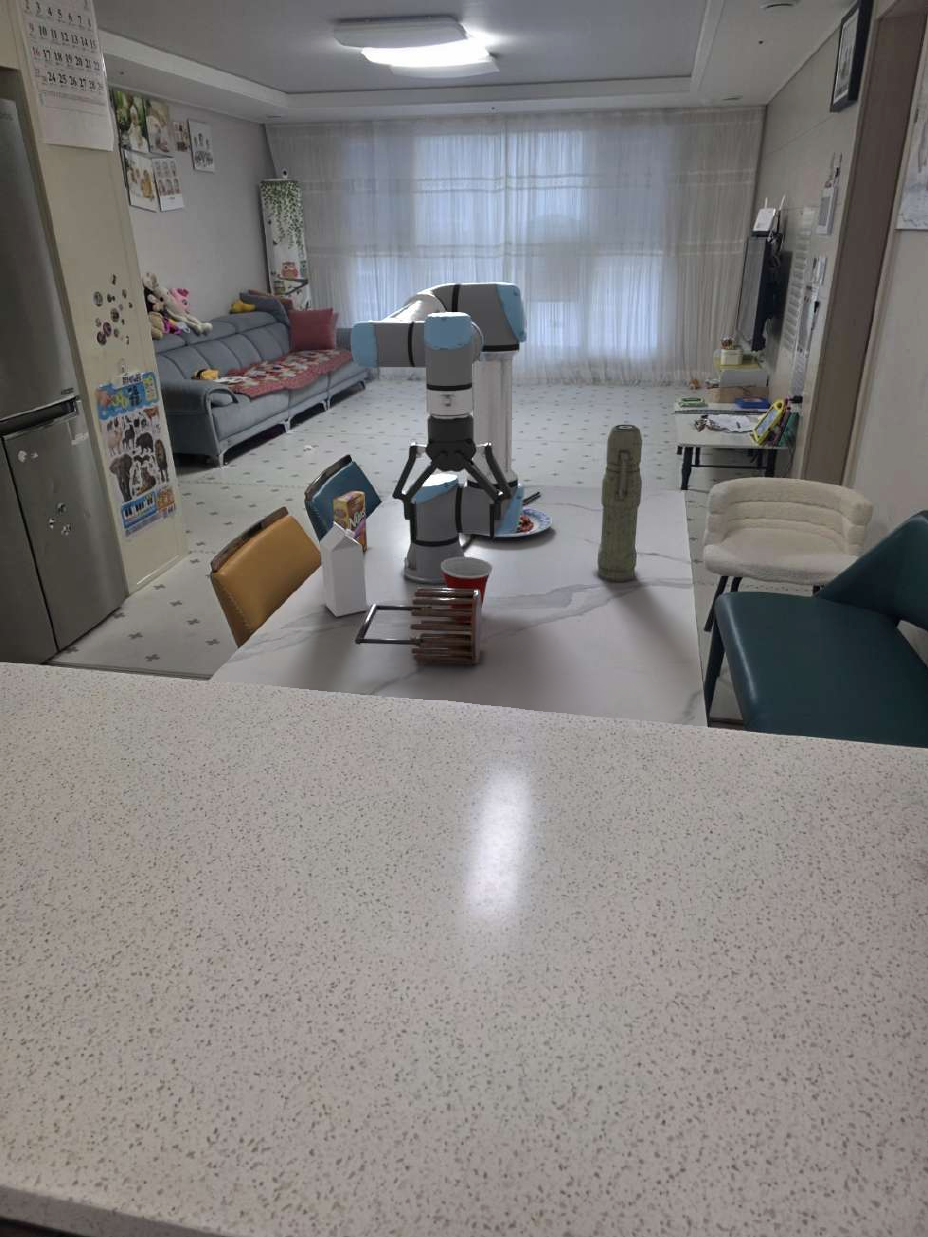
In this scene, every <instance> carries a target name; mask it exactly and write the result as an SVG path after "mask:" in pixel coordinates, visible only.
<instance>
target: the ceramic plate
mask: <svg viewBox="0 0 928 1237" xmlns="http://www.w3.org/2000/svg"><path fill="white" fill-rule="evenodd" d="M552 524H553V518H552V517H551V516H550V515H549V514H547V513H546V512H544V511H542V510H539V509H534V508H530V507H523V506H522V510H521V516H520V521H519V525H518V528H517V530H516V532H515V533H513V534H510V535H495V538H518V537H524V536H531V535H535V534H538V533H541V532H544V531H546V530H547V529H549V528H550V527H552ZM478 535H479V536H486V537H490V534H478Z"/></svg>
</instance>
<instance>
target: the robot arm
mask: <svg viewBox="0 0 928 1237" xmlns="http://www.w3.org/2000/svg"><path fill="white" fill-rule="evenodd" d="M525 305H526V304H525V300H524V295H523V291H522V289H521V287H520V286H519V285H517V284H516V283H511V282H510V283H509V282H500V281H497V282H468V283H467V282H465V283H456V282H455V283H453V282H452V283H444V284H439V285H436V286H433V287H430V288H427V289H424V290H422V291H419V292H417V293H415V294H413V295H411V297H409V298H408V299H407V300H406V301H405V302H404V304H403V306H402V308H401V309H399V310H397V311H395V312H394V313H392V314H390V315H389V316H387V317H386V318H384V319H381V320H377V321H376V320H375V321H374V320H368V321H357V322H355V323H354V325H353V326H352V329H351V333H350V352H351V355H352V359H353V361H354V363H355V364H356V365H357V366H359V367H361V368H372V369H377V368H423V369H425V391H426V393H425V394H426V412H427V413H428V414H429V415H428V416H427V420H426V422H427V423H426V424H427V444H419V443H418V442H416V441H412V443H411V444H410V446H409V448H408V458H407V461H406V463H405V466H404V467H403V470H402V472H401V475H400V476H399V479H398V481H397V483H396V485H395V488H394V489H393V492H392V494H391V497H392V499H393V500H399V501H401V502H402V505H403V518H404V520H405V521H409V536H410V542H409V547H408V551H407V554H406V556H404V559H403V563H404V567H403V572H404V576H405V577H406V578H407V579H409V580H410V581H413V582H416V583H421V584H426V585H427V584H428V585H436V584H437V585H440V584H446V582H445V578H444V573H443V571H442V569H441V563H442V562H443V561H444V560H446V559H450V558H454V557H466V555H465V554H464V550H465V549H466V548H467V547H468V545H469V544H470V542H471V541H472V540H473V537H474V535H479V534H490V536H489V541H493V542H494V541H495V538H496V537H495V535H510V534H513V533H515V532H516V530H517V528H518V525H519V521H520V516H521V510H522V507H523V504H525V503H527V502H529V501H530V500H532V499H535V497H537V496H539V495H540V494H541V491H539V490H538V491H536V492H534V493H533V494H531V495H529V496H528V497H526V498H524V497H525V485H523V484H522V483H519V476H518V474H517V473H516V472H515V471H514V470H513V468H512V447H513V446H512V445H513V444H512V440H513V439H512V438H513V436H512V435H513V434H512V433H513V432H512V431H513V430H512V429H513V428H512V427H513V425H512V424H513V359H514V358H515V356H516V355H517V354H518V353H519V352H520V344H523V343H525V342H526V341H527V340H528V339H527V338H528V329H527V328H528V323H527V312H526V306H525ZM471 413H472V414H471ZM424 453H425V454H426V456H427V457H428V458H429V460H430V462H429V463H428V464H427V466H426V468H424V470H423V471H422V473H421V474H420V475H419V476H418V477H417V479H416V480H414V481H413V482H412V483H411V484H410V485H409V486H408V489H407V491H404V488H405V485H406V483H407V481H408V479H409V477H410V475H411V472H412V470H413V468H414V466H415V464H416V462H417V459H420V458H421V457H422V455H423V454H424ZM436 470H438V471H440V472H442V473H439V474H434V473H435V471H436ZM464 470H465V471H466V472H467V475H466V482H460V479H459V477H458V476H457V475H455V474H451V473H447V472H456V473H460V472H461V471H464ZM460 534H466V535H467V534H468V535H469V536H468V538H467V539H466V541H465V542H464V543H463V544H462V545H461V542H460Z"/></svg>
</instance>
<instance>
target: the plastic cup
mask: <svg viewBox="0 0 928 1237" xmlns="http://www.w3.org/2000/svg"><path fill="white" fill-rule="evenodd" d="M441 569H442V571H443V573H444V578H445V582H446V583H445V586H446V589H477V590H480V594H481V609H483V608H482V607H483V604H484V598H485V594H486V588H487V583H488V579H489V578H490V575H491V573H492V572H493V565H492V564H490V563H489V561H485V560H483V559H482V558H477V557H471V556H465V557H454V558H450V559H446V560H444V561H443V562H442V563H441ZM465 599H472V598H465ZM450 609H472V606H450ZM453 620H454V621H470V622H471V618H453Z"/></svg>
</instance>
